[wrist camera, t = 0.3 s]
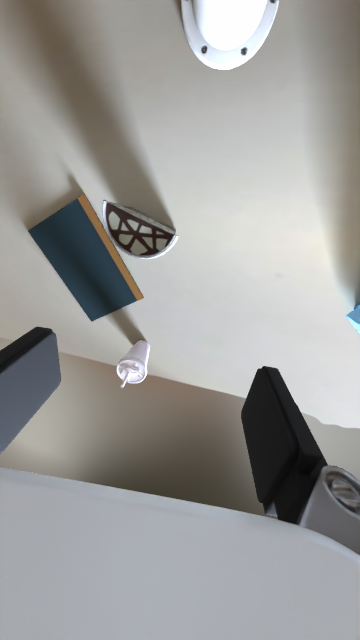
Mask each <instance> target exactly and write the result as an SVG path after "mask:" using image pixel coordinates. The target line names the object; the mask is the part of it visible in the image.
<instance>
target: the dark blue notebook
mask: <svg viewBox="0 0 360 640" xmlns="http://www.w3.org/2000/svg"><path fill="white" fill-rule="evenodd" d="M28 232H29V233H30V235H31V236H32V237H33V239H34V240H35V242H36V243H37V245H38V246H39V247H40V249H41V250H42V252H43V253H44V255H45V256H46V257H47V259H48V260H49V262H50V263H51V265H52V266H53V267H54V269H55V270H56V272H57V273H58V274H59V276H60V277H61V279H62V280H63V282H64V283H65V284H66V286H67V287H68V289H69V290H70V292H71V293H72V294H73V296H74V297H75V299H76V300H77V302H78V303H79V304H80V306H81V307H82V309H83V310H84V312H85V313H86V314H87V316H88V317H89V319H90V320H91V321H94V320H96V319H98V318H100V317H103V316H105V315H107V314H109V313H111V312H114V311H116V310H118V309H120V308H122V307H125V306H127V305H129V304H131V303H133V302H136V301H139V300H141V299H143V298H144V297H143V295H142V293H141V292H140V290H139V288H138V286H137V285H136V283H135V281H134V279H133V278H132V276H131V274H130V272H129V271H128V269H127V267H126V265H125V264H124V262H123V260H122V258H121V257H120V255H119V253H118V251H117V250H116V248H115V246H114V244H113V243H112V241H111V239H110V237H109V236H108V234H107V232H106V230H105V229H104V227H103V225H102V223H101V222H100V220H99V218H98V216H97V215H96V213H95V211H94V209H93V208H92V206H91V204H90V202H89V201H88V199H87V197H86V195H85V194H82V195H81V196H79V197H78V198H77V199H76V200H75V201H73V202H71V203H70V204H68V205H67V206H65V207H64V208H62V209H61V210H59V211H58V212H56V213H55V214H53V215H52V216H50V217H49V218H47V219H45V220H44V221H42V222H41V223H39V224H38V225H36V226H35V227H33V228H32V229H30V230H29V231H28Z"/></svg>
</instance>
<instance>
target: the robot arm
mask: <svg viewBox="0 0 360 640" xmlns="http://www.w3.org/2000/svg"><path fill="white" fill-rule="evenodd" d="M271 2H273V4H272V3H271ZM278 4H279V0H187V1H186V0H181V12H182V21H183V26H184V31H185V34H186V37H187V40H188V43H189V45H190V47H191V49H192V51H193V52H194V53H195V55H196V56H197V57H198V58H199V59H200V60H201V61H202V62H203V63H204V64H206V65H208V66H210V67H212V68H215V69H220V70H225V69H232V68H235V67H238V66H240V65H241V64H243V63H245V62H246V61H247V60H249V59H250V58H251V57H252V56H253V55H254V54H255V53H256V52H257V50H258V49H259V48H260V47H261V45H262V44H263V42H264V40H265V38H266V37H267V35H268V33H269V31H270V28H271V26H272V23H273V21H274V18H275V15H276V12H277V8H278ZM203 52H205V54H203ZM242 53H244V54H245V55H244V56H243V55H242ZM58 357H59V356H58V348H57V339H56V334H55V333H53V331H52V329H49V328H43V327H35V328H34V329H32V330H31V331H29V332H28V333H26V334H25V335H23V336H22V337H20V338H19V339H17V340H16V341H14V342H13V343H11V344H10V345H8V346H7V347H5V348H4V349H2V350H1V351H0V454H1V453H2V452H3V451H4V450H5V449H6V448H7V446H8V445H9V444H10V443H11V442H12V440H13V439H14V438H15V437H16V436H17V434H18V433H19V432H20V431H21V430H22V428H23V427H24V426H25V425H26V424H27V423H28V421H29V420H30V419H31V418H32V417H33V415H34V414H35V413H36V412H37V411H38V410H39V408H40V407H41V406H42V405H43V404H44V402H45V401H46V400H47V399H48V398H49V397H50V395H51V394H52V393H53V392H54V391H55V389H56V388H57V387H58V386H59V384H60V382H61V373H60V365H59V358H58ZM241 419H242V424H243V429H244V433H245V439H246V444H247V449H248V453H249V458H250V463H251V468H252V473H253V478H254V483H255V487H256V493H257V497H258V500H259V502H260V503H263V507H264V511H265V514H266V515H272V516H277V518H278V520H277V519H273V518H269V517H264V516H259V515H254V514H250V513H244V512H240V511H235V510H230V509H226V508H221V507H215V506H210V505H205V504H200V503H194V502H189V501H184V500H178V499H173V498H168V497H162V496H157V495H152V494H146V493H141V492H135V491H130V490H125V489H119V488H114V487H109V486H103V485H98V484H92V483H87V482H81V481H76V480H70V479H65V478H59V477H54V476H47V475H42V474H36V473H31V472H25V471H20V470H14V469H9V468H2V467H0V640H360V481H359V480H358V479H357V478H356V477H355V476H353V475H352V474H351V473H349V472H347V471H346V470H344V469H342V468H339V467H337V466H331V465H328V464H327V462H326V460H325V458H324V457H323V455H322V453H321V451H320V449H319V447H318V445H317V443H316V441H315V440H314V437H313V435H312V434H311V432H310V429H309V427H308V425H307V423H306V422H305V420H304V418H303V416H302V414H301V412H300V410H299V408H298V406H297V405H296V403H295V402H294V400H293V398H292V396H291V394H290V392H289V390H288V388H287V386H286V384H285V382H284V380H283V378H282V376H281V374H280V372H279V370H278V369H277V368H272V367H267V366H263V367H262V369H258V370H257V372H256V375H255V377H254V380H253V383H252V385H251V388H250V390H249V393H248V396H247V398H246V401H245V404H244V406H243V409H242V412H241Z"/></svg>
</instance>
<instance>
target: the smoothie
mask: <svg viewBox="0 0 360 640" xmlns="http://www.w3.org/2000/svg"><path fill="white" fill-rule="evenodd" d="M149 349H150V346H149V344H148V343H147V342H146V341H144V340H139V341H137V342H136V343H135V345H134V346H133V347H132V348H131V349H130V351H129V352H128V353H127V354H126V356H125V357H124V358H122V359H121V360H120V361H119V362H118V365H117V368H116V371H117V374H118V376H119V377H120V378H121V379H122V380H123V382H122V384H121V386H120V387H121V388H123V387H124V384H125V382H128V383H139V382H141V381H142V380H144V378H145V377H146V374H147V361H148V355H149Z"/></svg>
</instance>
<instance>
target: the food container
mask: <svg viewBox="0 0 360 640" xmlns="http://www.w3.org/2000/svg"><path fill="white" fill-rule="evenodd" d="M102 216H103V222H104V226H105V229H106V231H107V234H108V235H109V237H110V239H111V240H112V242H113V243H114V244H115V245H116V246H117V247H118V248H119V249H120V250H121V251H123V252H124V253H126V254H128V255H130V256H133V257H136V258H141V259H151V258H155V257H159V256H161V255H163V254H164V253H166V252H167V251H169V250H170V249H171V248H172V247H173V245H174V244H175V243H176V241H177V239H178V237H179V236H177V235H175V232H176V229H174V228H172V227H170V226H168V225H166V224H164V223H162V222H160V221H158V220H156V219H154V218H152V217H150V216H148V215H146V214H144V213H142V212H140V211H138V210H136V209H134V208H132V207H129V206H125V205H121V204H116V203H112V202H107V201H106V200H103V206H102Z"/></svg>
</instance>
